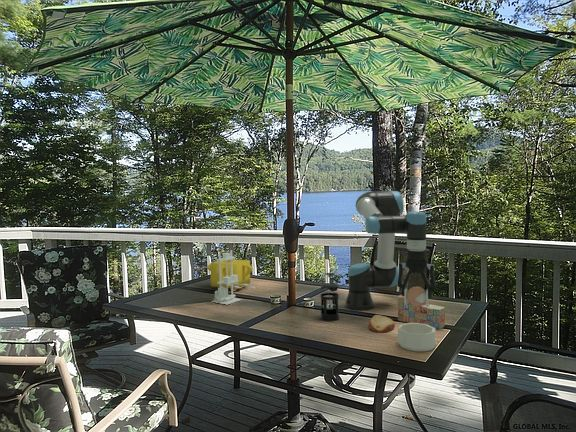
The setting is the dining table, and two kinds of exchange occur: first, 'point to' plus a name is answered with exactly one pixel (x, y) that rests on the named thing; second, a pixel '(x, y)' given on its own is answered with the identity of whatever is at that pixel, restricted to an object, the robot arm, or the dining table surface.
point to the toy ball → (416, 296)
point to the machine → (227, 282)
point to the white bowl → (416, 337)
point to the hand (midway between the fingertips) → (416, 305)
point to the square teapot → (239, 268)
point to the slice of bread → (381, 324)
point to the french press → (329, 314)
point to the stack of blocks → (421, 314)
